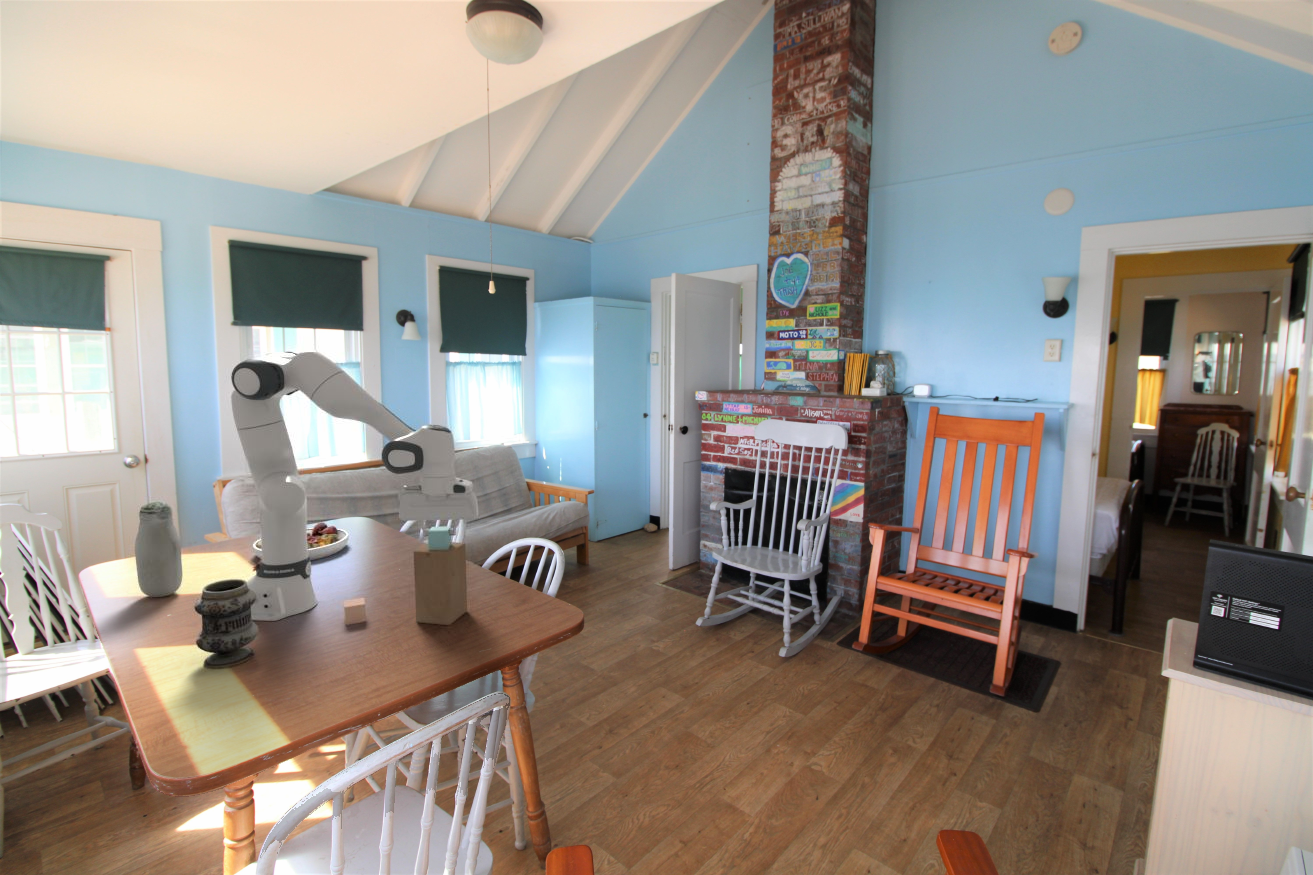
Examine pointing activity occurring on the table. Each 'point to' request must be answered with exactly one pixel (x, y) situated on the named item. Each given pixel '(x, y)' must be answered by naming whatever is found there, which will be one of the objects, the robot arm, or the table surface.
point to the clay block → (354, 611)
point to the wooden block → (440, 584)
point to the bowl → (318, 541)
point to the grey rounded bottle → (158, 551)
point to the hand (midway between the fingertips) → (439, 535)
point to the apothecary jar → (226, 622)
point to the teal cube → (439, 538)
